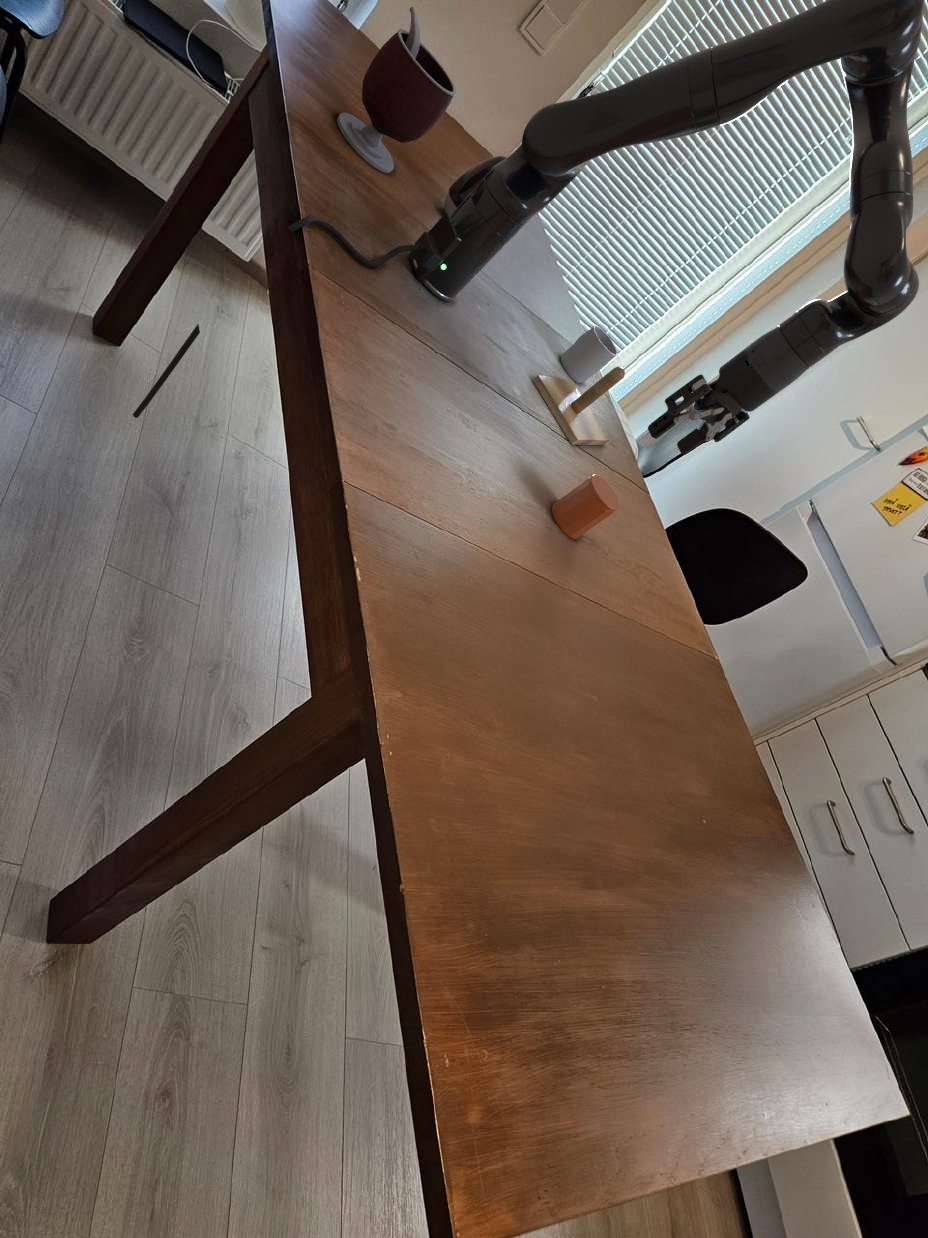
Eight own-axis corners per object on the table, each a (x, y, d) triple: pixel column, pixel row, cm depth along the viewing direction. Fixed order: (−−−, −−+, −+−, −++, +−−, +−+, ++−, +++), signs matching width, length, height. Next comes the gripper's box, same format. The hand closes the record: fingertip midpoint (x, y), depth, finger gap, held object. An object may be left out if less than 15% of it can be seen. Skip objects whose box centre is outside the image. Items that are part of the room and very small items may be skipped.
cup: (562, 371, 158) (597, 340, 153) (555, 340, 164) (588, 310, 159) (585, 390, 162) (620, 361, 157) (577, 360, 168) (610, 331, 163)
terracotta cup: (560, 533, 121) (601, 504, 116) (546, 499, 123) (586, 469, 119) (584, 542, 125) (624, 514, 121) (570, 509, 128) (610, 480, 124)
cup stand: (571, 444, 142) (628, 399, 135) (532, 380, 144) (586, 332, 137) (603, 445, 153) (657, 403, 146) (566, 385, 155) (618, 341, 148)
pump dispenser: (474, 252, 155) (531, 192, 147) (434, 214, 150) (491, 149, 142) (475, 231, 162) (530, 172, 154) (437, 193, 157) (491, 130, 149)
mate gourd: (407, 183, 148) (482, 93, 137) (360, 165, 136) (438, 65, 125) (364, 117, 149) (435, 22, 138) (315, 93, 138) (388, -12, 127)
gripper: (772, 366, 114) (678, 435, 123) (729, 328, 104) (630, 407, 113) (796, 406, 111) (698, 474, 120) (754, 371, 101) (650, 448, 110)
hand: (665, 441), depth 117 cm, fingers open, 8 cm apart
